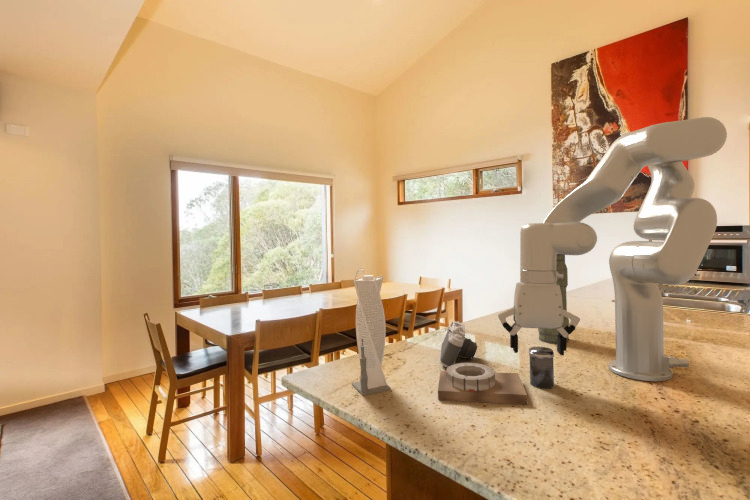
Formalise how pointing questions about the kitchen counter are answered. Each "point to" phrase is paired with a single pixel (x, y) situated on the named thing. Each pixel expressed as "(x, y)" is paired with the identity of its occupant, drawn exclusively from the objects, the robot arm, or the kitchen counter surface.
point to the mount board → (492, 395)
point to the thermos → (551, 334)
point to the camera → (456, 345)
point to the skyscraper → (370, 334)
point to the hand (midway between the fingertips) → (537, 352)
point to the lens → (541, 367)
